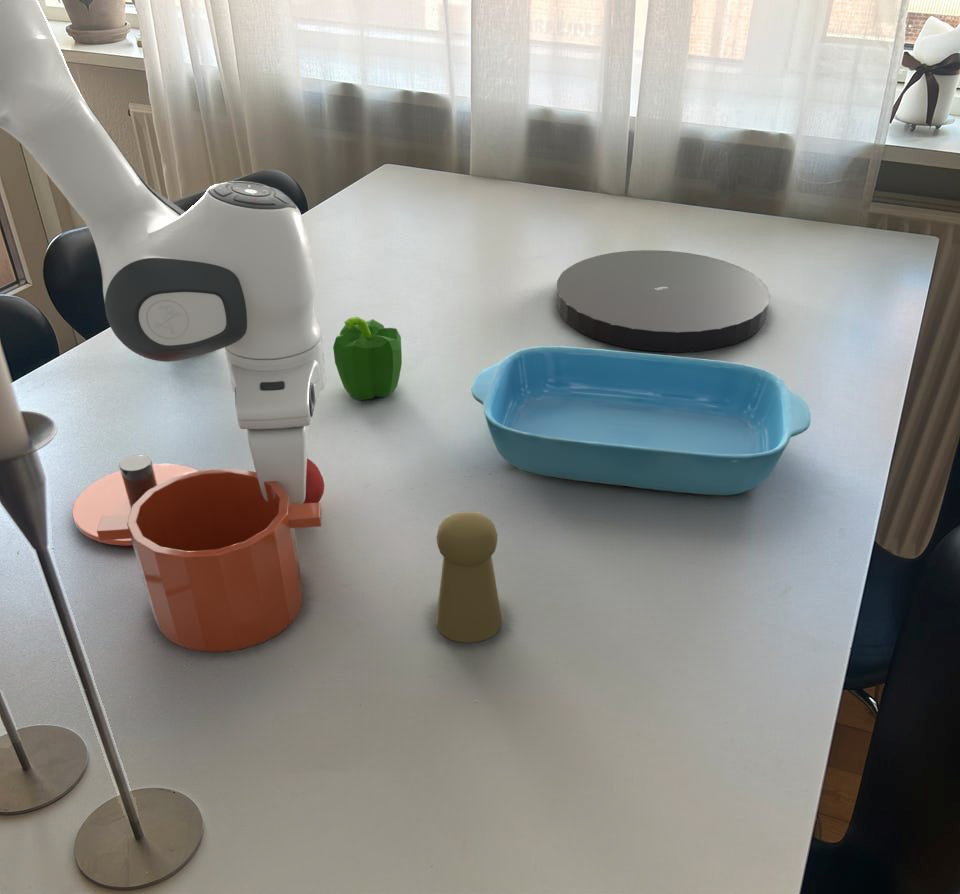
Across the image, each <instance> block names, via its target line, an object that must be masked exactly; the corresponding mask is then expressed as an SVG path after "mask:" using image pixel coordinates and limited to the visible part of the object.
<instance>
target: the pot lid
mask: <svg viewBox="0 0 960 894" xmlns="http://www.w3.org/2000/svg"><path fill="white" fill-rule="evenodd" d="M118 469H119V470H117V471H114V472H112V473H109V474H106V475H104V476H103V477H101V478H99V479H96V480H95V481H94V482H92V483H91V484H90V485H88V486H87V487H85V488H84V490H83V491H81V493H79V494H78V496H77V498H76V499H75V501H74V502H73V506H72V510H71V512H72V519H73V522H74V524H75V526H76V528H77V529H78V531H80V533H81V534H83V535H84V536H85V537H87V538H89V539H90V540H93V541H96V542H98V543H103V544H107V545H113V546H133V544H132V541H131V539H116V540H101V541H100V540H99V537H98V533H97V529H98V526H99V523H100V520H101V517H102V516H108V515H124V514H130V511H131V508H132V506H133V505H134V504H135V503H136V502H137V501H138V500H139V499H140V498H141V497H142V496H143V495H144V494H145V493H146V492H147V491H148V490H149V489H151V488H153V487H155V486H157V485H159V484H161V483H163V482H165V481H167V480H169V479H171V478H173V477H176V476H180V475H184V474H188V473H191V472H195V471H199V470H200V469H196V468H194V467H191V466H187V465H184V464H177V463H153V461H152V459H151V457H149V456H148V455H144V454H134V455H129V456H127V457H125V458H123V459H121V460H120V462H119V463H118Z"/></svg>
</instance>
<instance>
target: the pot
mask: <svg viewBox="0 0 960 894" xmlns="http://www.w3.org/2000/svg"><path fill="white" fill-rule="evenodd" d="M198 470H199V471H195V472H191V473H188V474H184V475H180V476H176V477H173V478H171V479H169V480H167V481H165V482H163V483H161V484H159V485H157V486H155V487H153V488H151V489H149V490H148V491H147V492H146V493H145V494H144V495H143V496H142V497H141V498H140V499H139V500H138V501H137V502H136V503H135V504H134V505H133V506H132V508H131V511H130V514H124V515H108V516H102V517H101V520H100V523H99V526H98V529H97V533H98V537H99V540H100V541H101V540H116V539H131V541H132V544H133V545H132V548H133V550H134V551H133V552H134V554H135V558H136V561H137V565H138V568H139V572H140V575H141V578H142V582H143V585H144V589H145V592H146V596H147V600H148V602H149V607H150V610H151V613H152V615H153V618H154V620H155V622H156V626H157V627H158V630H159V631H160V633H161V634H162V635H163V636H164V637H165V638H167V639H168V640H169V641H171V642H173V643H174V644H176V645H177V646H180V647H183V648H185V649H189V650H193V651H199V652H208V653H209V652H210V653H221V652H223V653H224V652H233V651H238V650H242V649H247V648H251V647H253V646H256V645H259V644H261V643H264V642H267V641H268V640H270V639H272V638H274V637H275V636H277V635H279V634H280V633H282V632H283V631H284V630H285V629H286V628H288V627H289V626H290V625H291V624H292V622H294V620H295V619H296V618H297V616H298V614H299V613H300V611H301V609H302V605H303V601H304V593H303V592H304V591H303V589H304V587H303V586H304V585H303V579H302V572H301V567H300V560H299V559H300V558H299V553H298V547H297V540H296V535H295V534H296V533H295V529H301V528H302V529H303V528H315V527H318V528H319V527H321V526H322V505H321V504H322V503H321V502H319V503H304V504H290V501H289V497H288V495H287V494H286V492H285V491H284V490H283V488H282V487H281V485H280V484H279V483H278V482H277V481H266V482H264V485H265V489H266V493H267V498H268V502H267V501H266V500H265V499H264V497H263V495H262V492H261V488H260V485H259V481H258V478H257V474H256V471H252V470H245V469H240V468H235V467H232V468H231V467H225V468H210V469H209V468H207V469H198Z"/></svg>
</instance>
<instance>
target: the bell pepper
mask: <svg viewBox="0 0 960 894" xmlns="http://www.w3.org/2000/svg"><path fill="white" fill-rule="evenodd" d="M332 349H333V357H334V363H335V366H336V370H337V373H338V375H339V378H340V380H341V383H342V386H343V388H344V390H345V391H346V392H347V394H349V395H350V396H351V397H352V398H353V399H356V400H359V401H365V400H366V401H367V400H371V399H373V398H374V397H380V398H382V397H388V396H390V395H391V394H392V393H394V391H396V389H397V387H398V384H399V379H400V377H401V369H402V363H403V355H402V354H403V353H402V352H403V351H402V336H401V334H400V333H399V331H398V329H397V328H395V327H385V326H384V324H382V323H381V322H379V321H377V320H375V319H373V318H372V319H369V320H367V321H366V320H365V319H363V318H361V317H358V316H354V317H349V318H348V319H347V320H345V321H344V325H343V327H342V329H341V330H340V332H339V334H338V335H336V337H335V340H334V343H333V347H332Z"/></svg>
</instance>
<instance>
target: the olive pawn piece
mask: <svg viewBox="0 0 960 894" xmlns="http://www.w3.org/2000/svg"><path fill="white" fill-rule="evenodd" d="M498 536H499V535H498V531H497V527H496V525H495V524H494V522H493V521H492V519H490V518H489V517H488V516H487V515H485V514H483V513H481V512H476V511H471V510H470V511H467V510H465V511H458V512H454V513H452V514H450V515H448V516H446V517H445V518H444V519H443V520H442V521H441V522H440V524H439V526H438V529H437V534H436V544H437V547H438V551H439V553H440V554H441V556H442V557H443V558H442V566H441V567H442V568H441V574H440V585H439V590H438V600H437V609H436V616H435V625H436V629H437V631H438V632H440V634H441V635H442V636H444V637H445V638H447V639H448V640H451V641H454V642H456V643H463V644H464V643H465V644H471V643H472V644H473V643H480V642H483V641H485V640H489V639H490V638H492V637H493V636H494V635H496V634H498V632H499V630H500V629H501V627H502V621H503V620H502V619H503V618H502V614H501V613H502V612H501V606H500V601H499V593H498V589H497V582H496V575H495V570H494V563H493V562H494V561H493V558H492V557H493V555H494V553H495V552H496V549H497V546H498V538H499V537H498Z"/></svg>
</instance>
